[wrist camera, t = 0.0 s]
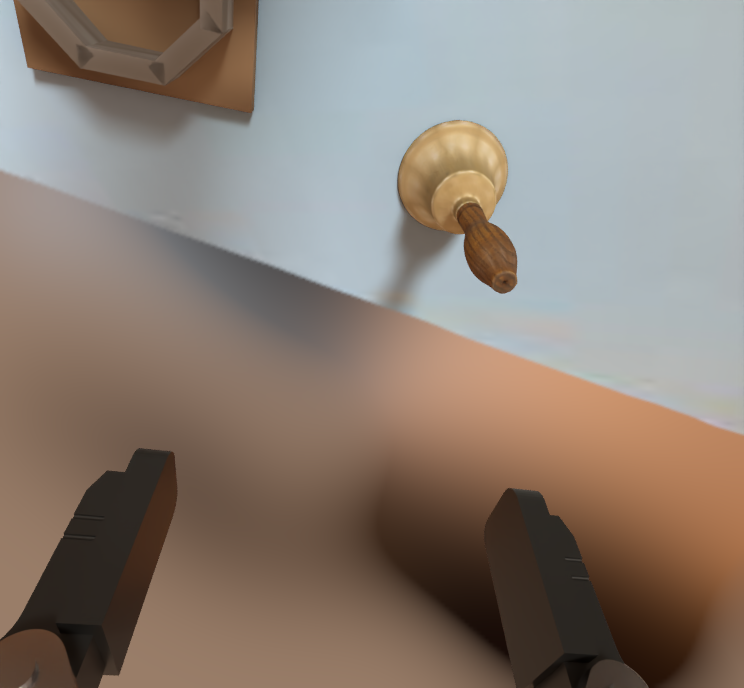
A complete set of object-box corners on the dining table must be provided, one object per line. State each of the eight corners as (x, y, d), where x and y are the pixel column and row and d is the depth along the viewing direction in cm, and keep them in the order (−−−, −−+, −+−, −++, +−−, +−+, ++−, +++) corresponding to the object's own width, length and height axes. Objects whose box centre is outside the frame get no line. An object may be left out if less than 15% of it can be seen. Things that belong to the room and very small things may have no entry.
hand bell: (394, 126, 34) (415, 218, 21) (511, 113, 34) (602, 198, 21) (401, 234, 39) (422, 358, 27) (503, 223, 39) (573, 344, 26)
